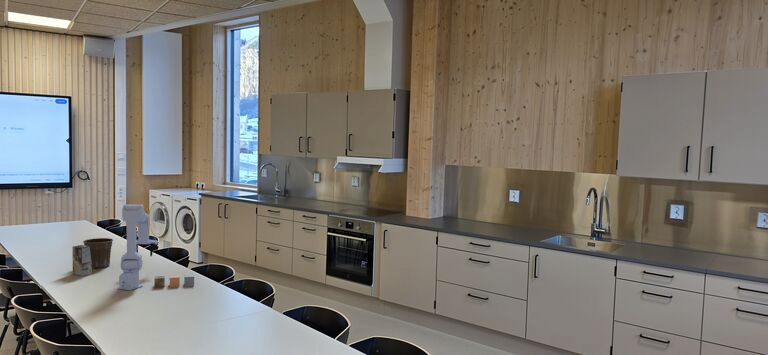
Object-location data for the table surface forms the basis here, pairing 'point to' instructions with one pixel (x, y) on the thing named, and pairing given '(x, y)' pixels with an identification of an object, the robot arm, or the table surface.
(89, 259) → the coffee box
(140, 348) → the table surface
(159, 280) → the walnut block
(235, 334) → the table surface
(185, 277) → the slate block
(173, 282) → the orange block
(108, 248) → the plant pot
